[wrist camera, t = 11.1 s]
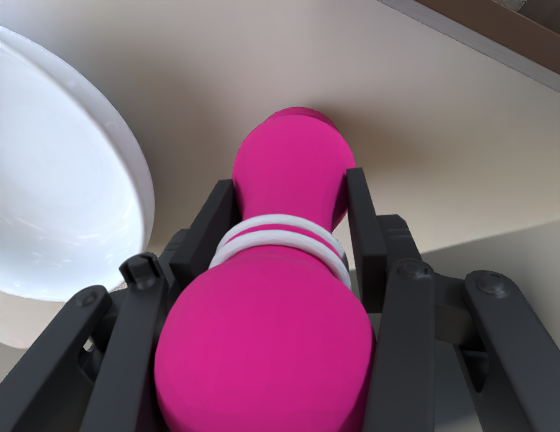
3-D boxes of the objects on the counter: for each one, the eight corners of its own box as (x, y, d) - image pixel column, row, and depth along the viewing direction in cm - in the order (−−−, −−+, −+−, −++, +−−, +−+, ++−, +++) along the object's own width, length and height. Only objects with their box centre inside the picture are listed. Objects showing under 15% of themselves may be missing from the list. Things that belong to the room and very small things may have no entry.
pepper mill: (339, 201, 24) (392, 640, 7) (246, 190, 24) (85, 585, 7) (359, 104, 20) (597, 584, 3) (248, 92, 20) (-94, 470, 3)
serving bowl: (78, 277, 34) (29, 330, 28) (-124, 105, 25) (-256, 131, 19) (229, 202, 27) (206, 252, 21) (21, -78, 18) (-122, -124, 12)
